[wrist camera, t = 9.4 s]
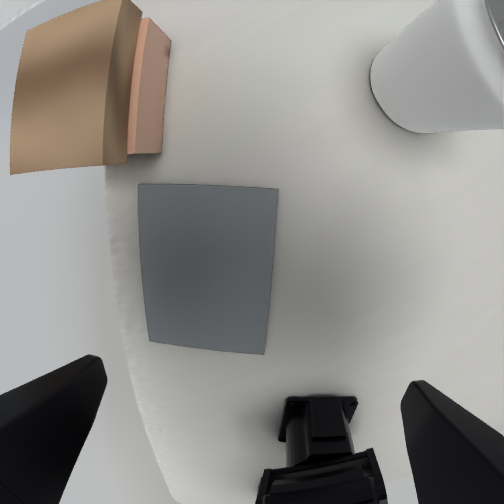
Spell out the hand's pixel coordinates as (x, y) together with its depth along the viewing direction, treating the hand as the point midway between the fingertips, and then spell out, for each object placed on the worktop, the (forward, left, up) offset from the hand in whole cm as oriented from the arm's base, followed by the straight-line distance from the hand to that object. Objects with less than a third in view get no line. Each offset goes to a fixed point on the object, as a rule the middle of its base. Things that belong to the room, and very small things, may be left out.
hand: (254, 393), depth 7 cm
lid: (+10, +11, -8) cm, 17 cm away
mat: (-2, +4, -12) cm, 13 cm away
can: (+12, -9, -13) cm, 20 cm away
